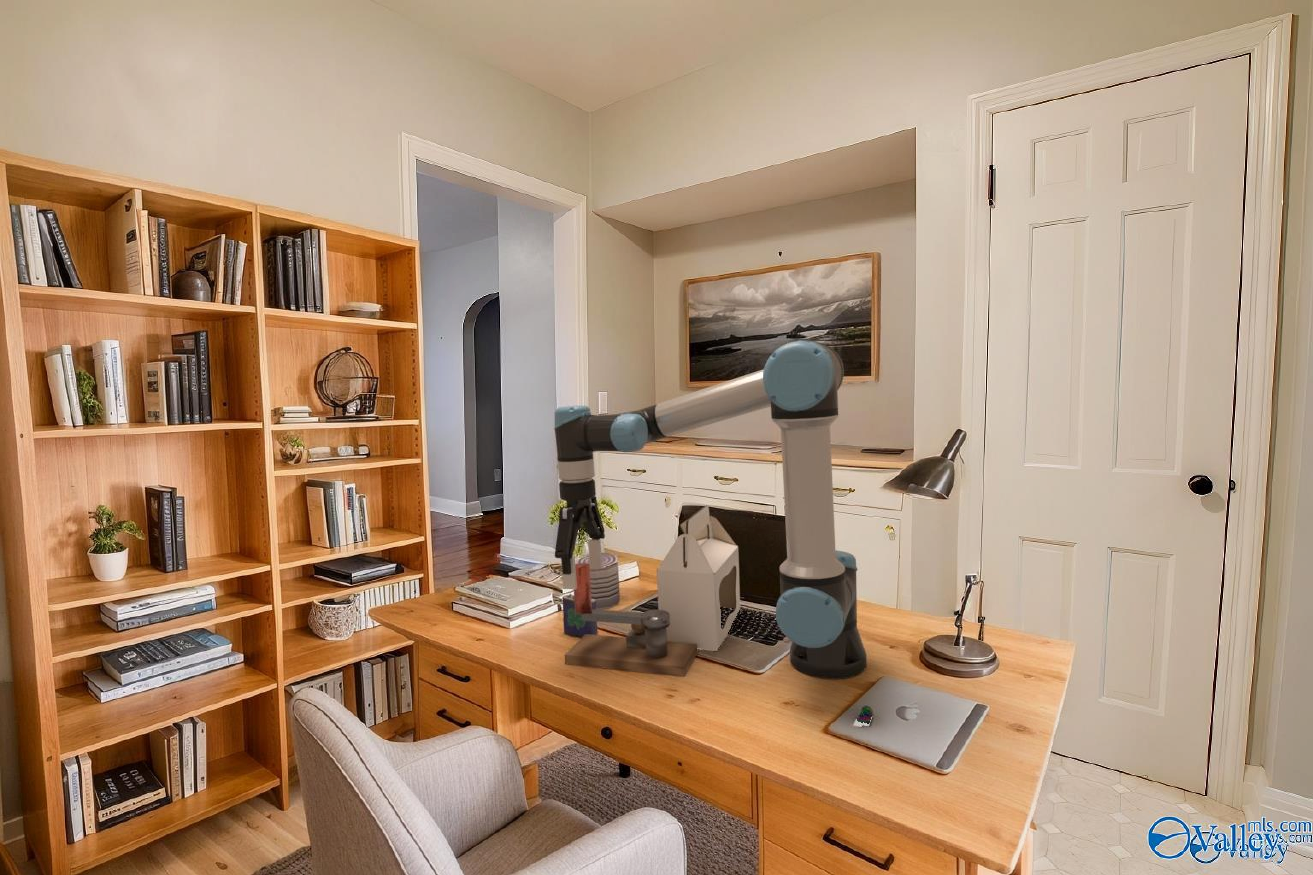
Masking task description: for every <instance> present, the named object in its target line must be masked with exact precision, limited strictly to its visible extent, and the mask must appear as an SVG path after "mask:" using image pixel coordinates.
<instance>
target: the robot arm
mask: <svg viewBox="0 0 1313 875" xmlns="http://www.w3.org/2000/svg"><path fill="white" fill-rule="evenodd" d="M844 371H845V370H844V363H843V361H842V359H841V357H840V355H839V354H838V353H837V352H836V350H834V349H833V348H832V347H830V346H829V345H827V344H825V343H821V342H817V341H811V340H797V341H796V340H795V341H790V342H788V343H785V344H783V345H781V346H779V347H778V348H777V349H775V350H774V351H773V352H772V353H771V354H770V356H769V357H768V359H767V361H766V363H765V365H764V368H763V369H761V370H757V371H754V372H751V373H748V374H745V375H742V376H738V377H736V378H733V379H730V380H726V381H723V382H720V383H718V384H715V385H710V386H708V387H706V388H702V389H699V390H696V391H694V392H690V393H687V394H683V395H680V396H677V397H675V398H672V399H669V400H666V401H663V402H659V403H657V404H653V405H651V406H647V407H644V408H641V409H637V410H633V411H632V410H631V411H628V412H620V413H616V414H615V413H613V414H599V415H597V414H592V412H591V408H590V406H588V405H571V406H570V405H567V406H561V407H558V408H556V409H555V410H554V428H553V429H554V435H555V444H556V454H557V456H556V457H557V458H556V459H557V464H556V468H557V470H558V471H557V472H558V479H559V480H560V482H558V490H559V491H558V492H559V499H560V500H563V501H565V502H566V508H565V507H564V508H563V507H562V508H559V510H558V512H559V513H558V514H559V515H558V516H559V517H558V519H559V520H558V521H559V522H558V525H557V526H558V528H557V535H556V542H555V550H554V558H556V559H560V561H561V576H562V578H561V579H562V589H563V590H574V589H577V581H576V568H575V564H576V557H575V556H573V554H574V551H575V546H576V542H577V538H578V534H579V530H580V529H581V528H582V526H583V527H584V529H585V531H586V533H587V535H588V536H589V539H588V540H587V544H588V554H589V562H590V569H602V554H601V553H602V542H601V540H603V539H605V536H606V534H605V528H604V524H603V520H602V517H601V513H600V511H599V507H598V502H597V496H596V494H597V493H596V490H597V489H596V480H595V479H594V477H595V462H594V452H623V453H629V452H639V451H641V450H643V448H644V447H645V445H646V444H651V443H654V442H657V441H659V440H662V439H666V438H668V437H672V436H675V435H680V434H682V433H685V432H688V431H692V430H695V429H699V428H702V427H705V426H708V425H712V424H715V423H719V422H723V421H725V420H729V419H733V418H737V417H739V416H740V417H741V416H742V415H746V414H750V413H754V412H757V411H759V410H763V409H766V408H770V416H771V421H772V422H773V423H774V424H775V425H776V426H778V427H779V429H780V440H781V441H780V442H781V458H782V459H781V461H782V463H781V465H782V478H783V479H782V480H783V500H784V501H783V502H784V503H783V504H784V518H785V521H784V522H785V537H786V538H785V539H786V556H787V557H786V559H785V560H784V561H783V562H782V563H781V564H780V566H779V584H780V585H779V586H780V587H779V588H780V596H779V597H778V600H777V602H776V606H775V619H776V623H777V626H778V628H779V630H780V631H781V632H782V634H783V635H785V636H786V637H787V638H788V639H789V640H790V642H791V644H790V648H789V661H790V664H791V665H792V667H793V668H794V669H796V670H797V671H799V672H801V673H803V674H806V675H808V676H812V677H816V678H821V679H830V680H831V679H847V678H851V677H854V676H857V675H860V674H862V673H863V672H864V671H865V670H866V668H867V652H866V649H865V646H864V643H863V641H862V638H861V635H860V632H859V629H858V609H857V608H858V607H857V606H858V605H857V604H858V602H857V601H858V597H857V593H858V592H857V571H858V567H857V559H856V556H854V554H852V553H850V552H846V551H842V550H836V531H835V530H836V529H835V514H834V513H835V511H834V510H835V509H834V490H833V488H834V487H833V466H832V465H833V464H832V444H831V442H832V441H831V440H832V439H831V425H832V424H833V423H834V422H835V421H836V420H837V418H838V417H839V401H838V400H839V399H838V398H839V397H838V391H839V389H840V388H841V386H842V383H843V380H844V373H845V372H844Z"/></svg>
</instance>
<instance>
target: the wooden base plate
mask: <svg viewBox="0 0 1313 875" xmlns="http://www.w3.org/2000/svg"><path fill="white" fill-rule="evenodd" d="M630 626H631V627H630V628H631V629H630V631H629V632H628V633H626V634H625V637H624V636H614V635H613V636H611V635H599V634H598V635H591V634H585V635H584V636H583V637H582V638H579V640H578V641H577V642H576V643H575V644H574V645H572V647H570V648H569V650H568V651H567V652H565V654H564V664H565V663H568V664H567V665H571V664H574V665H573V666H581V667H589V668H590V667H592V668H600V669H611V670H620V671H629V672H638V673H639V672H640V673H647V674H654V675H655V674H657V675H658V674H659V675H668V676H674V677H685V676H686V674H687V673H688V670H689V669H690V667H691V665H692V663H693V662H694V660H695V658H696V656H697V655H696V654H698V650H697V644H691V643H680V642H669V641H667V632H666V628H665V629H661V630H647V629H644V628H643V627H642V626H641V625H638V624H630Z"/></svg>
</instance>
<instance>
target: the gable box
mask: <svg viewBox="0 0 1313 875" xmlns="http://www.w3.org/2000/svg"><path fill="white" fill-rule="evenodd" d="M679 527H680V530H681V531H682V533H683V534H680V535H679V536H677V538H676V540H675V541H674V543H672V545H671V547H670V549H669V550H668V552H667V554H666V555H665V557H664V558H663V560H662V562H661V563H660V565H659V567H657V569H656V582H657V606H658V607H657V608H658V609H657V610H664V611H667V612H668V613H669V614H670V625H669V626H668V627H667V628H666V632H667V641H669V642H680V643H691V644H697V648H701V649H702V648H703V649H710V650H718V648H719V647H720V645H721V643H722V642H723V641H724V642H725V640H724V638H725V637H726V636H727V637H728V635H729V634H728V632H729V630H730V628H731V625H732V623H733V621H734V619H735V618H736V616H737V613H738V612H739V610H740V611H741V595H740V594H741V593H740V590H741V588H740V562H739V561H740V557H739V546H738V545H737V544H736V542H735V541H734V540H733V538H732V537H731V536H730V535H729V533H728V532H727V530H726V529H725V528H724V526H723V525H722V523H721V522H720V521H719V519H718V518H717V517H715V516H714V515H713V516H712V515H710V508H709V505H704V506H703V507H702V508H701V509H699V510H697V511H696V512H695V513H694V514H692V515H691V516H690V517H689V518H687V519H686V520H685V521H684V522H682V523H681V524H680V525H679ZM720 607H727V608H735V609H734V611H733V612H732V613H730V614H729V615H728V617H727V618H726V621H725V624H724V626H723V628H721V609H720ZM729 633H730V632H729ZM727 634H728V635H727ZM727 637H726V638H727ZM724 642H723V643H724ZM723 643H722V644H723ZM721 646H722V645H721ZM720 648H721V647H720ZM720 648H719V649H720ZM718 651H719V650H718Z"/></svg>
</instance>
